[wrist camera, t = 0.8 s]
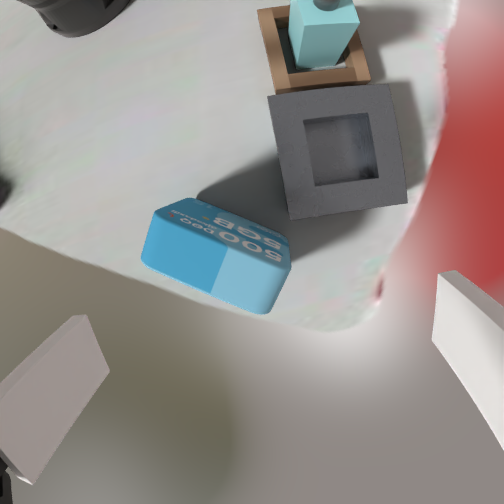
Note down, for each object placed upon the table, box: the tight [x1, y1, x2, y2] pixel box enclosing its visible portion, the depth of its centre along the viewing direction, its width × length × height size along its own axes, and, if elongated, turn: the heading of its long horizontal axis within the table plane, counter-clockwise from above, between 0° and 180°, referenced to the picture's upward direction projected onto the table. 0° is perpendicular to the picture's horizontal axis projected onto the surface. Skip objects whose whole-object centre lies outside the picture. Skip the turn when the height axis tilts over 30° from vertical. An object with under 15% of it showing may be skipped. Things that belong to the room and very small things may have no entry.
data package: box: [141, 198, 291, 314], centre depth 30 cm, size 12×4×12 cm, turn 68°
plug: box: [288, 0, 360, 70], centre depth 22 cm, size 4×4×15 cm
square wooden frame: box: [257, 5, 371, 95], centre depth 27 cm, size 10×10×3 cm
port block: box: [267, 84, 408, 221], centre depth 29 cm, size 12×12×5 cm
